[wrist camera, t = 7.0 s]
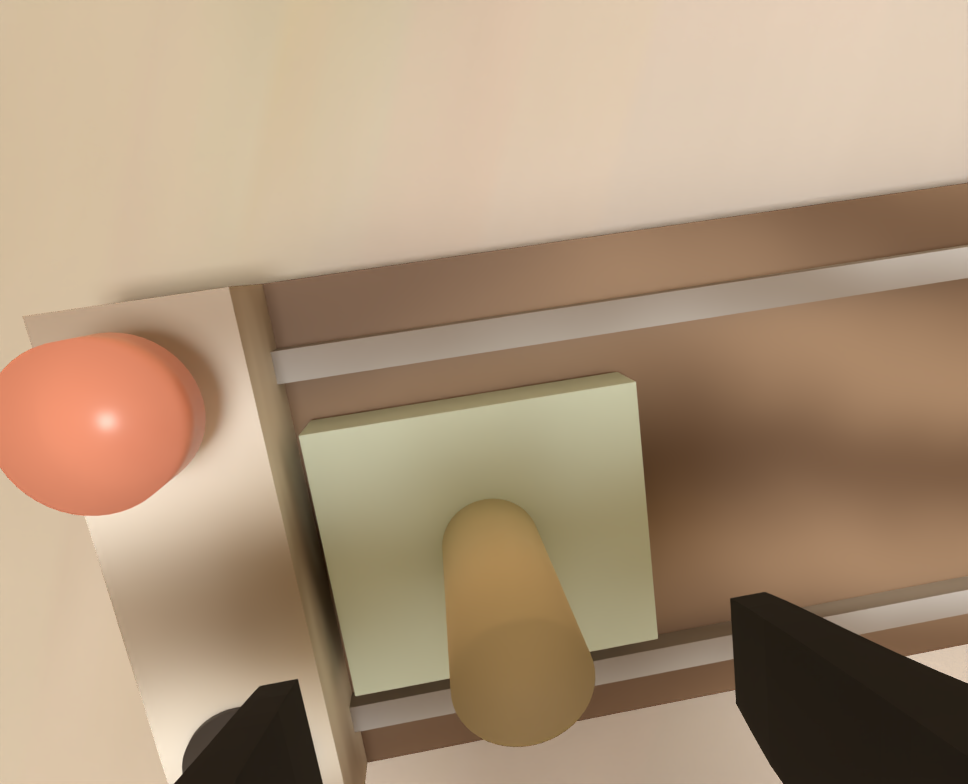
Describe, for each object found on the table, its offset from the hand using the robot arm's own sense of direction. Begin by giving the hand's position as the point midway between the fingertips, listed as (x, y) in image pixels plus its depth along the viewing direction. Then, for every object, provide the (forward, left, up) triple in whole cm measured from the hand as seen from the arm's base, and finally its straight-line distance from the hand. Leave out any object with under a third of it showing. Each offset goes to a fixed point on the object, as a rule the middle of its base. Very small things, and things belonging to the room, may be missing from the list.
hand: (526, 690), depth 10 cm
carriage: (0, 0, -7) cm, 7 cm away
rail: (0, -7, -8) cm, 11 cm away
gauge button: (+5, +7, -3) cm, 9 cm away
